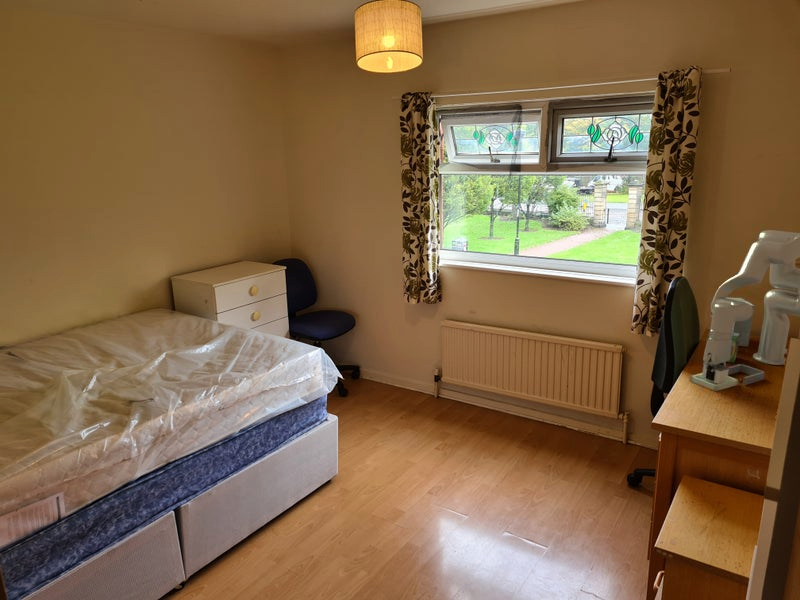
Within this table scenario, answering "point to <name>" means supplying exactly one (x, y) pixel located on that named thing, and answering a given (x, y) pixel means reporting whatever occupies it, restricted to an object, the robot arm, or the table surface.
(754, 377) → the bay
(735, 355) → the chalk box
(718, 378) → the grey box with knob
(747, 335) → the hard drive box
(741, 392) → the table surface
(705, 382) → the dock tray
